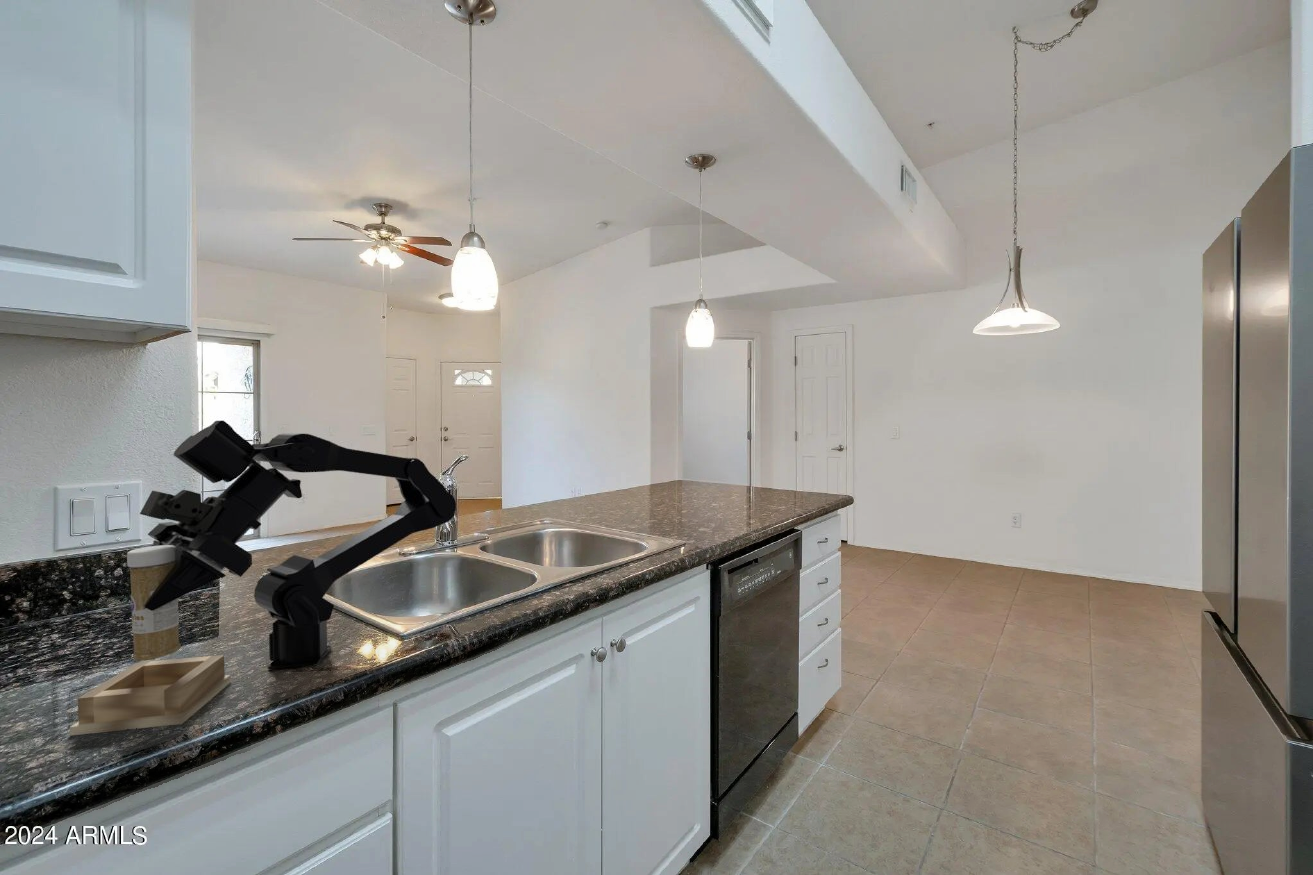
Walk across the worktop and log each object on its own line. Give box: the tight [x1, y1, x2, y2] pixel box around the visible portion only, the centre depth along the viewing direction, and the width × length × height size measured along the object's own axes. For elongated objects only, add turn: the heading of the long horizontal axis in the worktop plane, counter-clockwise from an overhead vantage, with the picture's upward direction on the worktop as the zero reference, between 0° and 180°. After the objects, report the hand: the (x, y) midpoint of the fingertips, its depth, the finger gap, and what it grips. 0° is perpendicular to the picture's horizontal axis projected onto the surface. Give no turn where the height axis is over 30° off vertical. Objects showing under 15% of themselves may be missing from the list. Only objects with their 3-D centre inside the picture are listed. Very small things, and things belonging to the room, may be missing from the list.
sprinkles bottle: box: [126, 545, 182, 662], centre depth 70 cm, size 5×5×14 cm
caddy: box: [69, 654, 232, 737], centre depth 70 cm, size 11×11×4 cm
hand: (141, 605), depth 69 cm, fingers closed on sprinkles bottle, 4 cm apart
